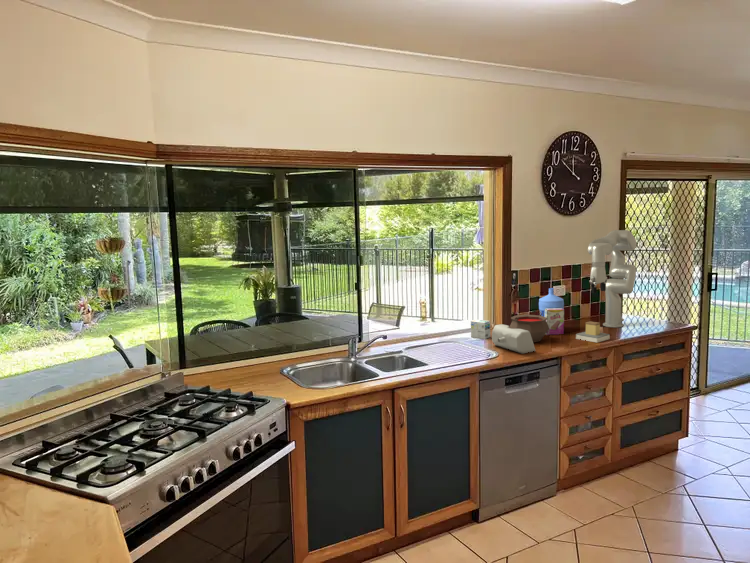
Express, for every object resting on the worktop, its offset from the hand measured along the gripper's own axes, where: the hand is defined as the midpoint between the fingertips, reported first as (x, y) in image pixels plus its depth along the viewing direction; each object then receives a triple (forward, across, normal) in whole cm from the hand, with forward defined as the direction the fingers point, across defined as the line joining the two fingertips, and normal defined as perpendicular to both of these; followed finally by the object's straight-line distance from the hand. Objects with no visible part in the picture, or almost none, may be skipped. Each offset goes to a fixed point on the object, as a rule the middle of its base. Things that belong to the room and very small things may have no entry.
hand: (598, 292), depth 328 cm
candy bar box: (+27, +18, -19) cm, 38 cm away
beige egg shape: (+27, +2, +1) cm, 27 cm away
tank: (+24, +67, -14) cm, 72 cm away
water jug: (+27, +11, -27) cm, 40 cm away
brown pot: (+26, +41, -21) cm, 53 cm away
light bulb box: (+25, +57, -46) cm, 77 cm away
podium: (+26, +13, +4) cm, 30 cm away
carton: (+23, +13, +4) cm, 27 cm away
